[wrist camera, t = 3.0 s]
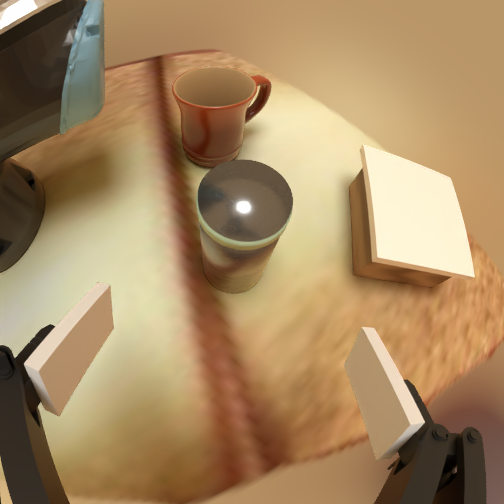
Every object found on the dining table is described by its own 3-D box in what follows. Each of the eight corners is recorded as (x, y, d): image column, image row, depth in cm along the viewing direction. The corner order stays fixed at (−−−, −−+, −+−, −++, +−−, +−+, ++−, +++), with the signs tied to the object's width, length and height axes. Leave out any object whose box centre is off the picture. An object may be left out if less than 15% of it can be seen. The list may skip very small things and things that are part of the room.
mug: (198, 186, 32) (196, 118, 22) (166, 143, 34) (159, 79, 25) (279, 150, 36) (297, 88, 26) (242, 114, 38) (250, 55, 28)
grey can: (196, 288, 27) (185, 229, 16) (208, 232, 29) (208, 152, 19) (260, 299, 27) (291, 248, 16) (266, 242, 30) (296, 168, 19)
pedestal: (344, 282, 29) (377, 257, 23) (341, 180, 35) (363, 144, 28) (437, 295, 30) (474, 277, 24) (423, 204, 36) (450, 178, 29)
